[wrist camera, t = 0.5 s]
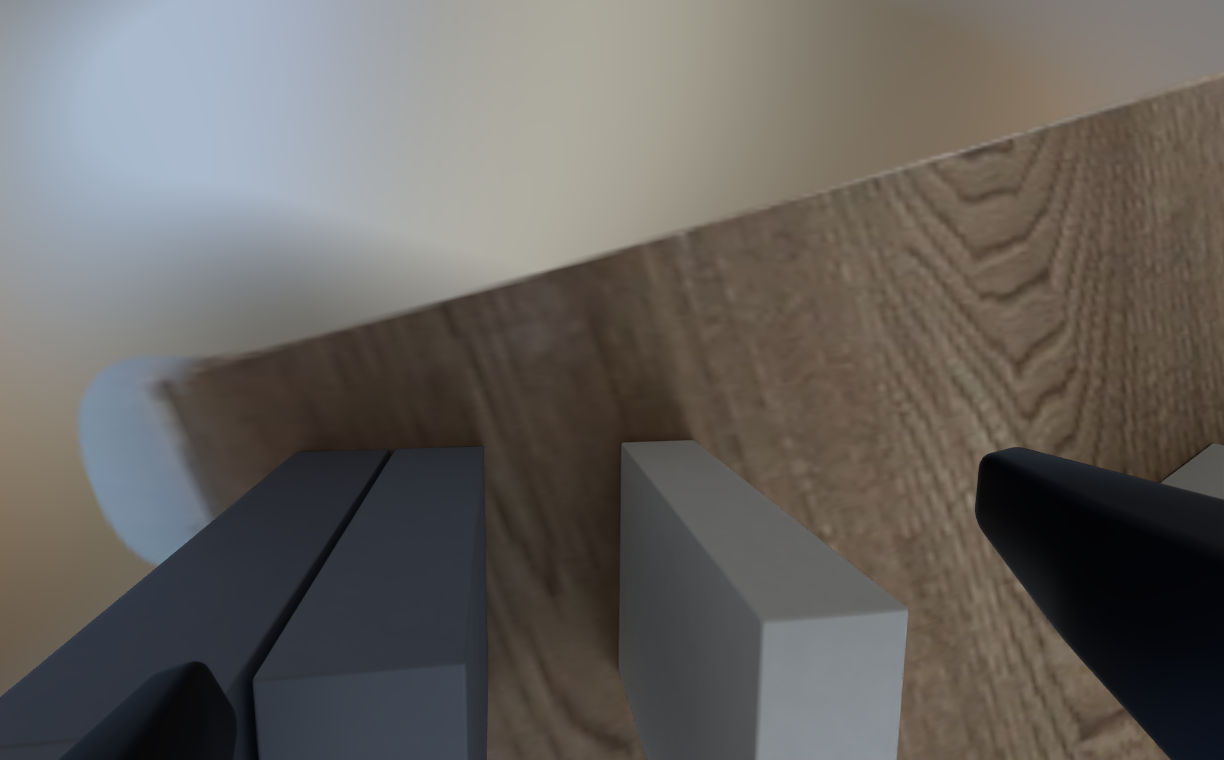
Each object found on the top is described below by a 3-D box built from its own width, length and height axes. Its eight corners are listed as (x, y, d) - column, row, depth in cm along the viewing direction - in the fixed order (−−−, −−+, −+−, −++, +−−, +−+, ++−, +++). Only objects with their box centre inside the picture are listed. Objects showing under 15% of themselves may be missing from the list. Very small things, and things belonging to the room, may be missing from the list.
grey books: (488, 682, 24) (476, 1238, 10) (310, 698, 23) (19, 1344, 9) (483, 445, 23) (463, 701, 9) (295, 451, 22) (-71, 754, 8)
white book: (688, 664, 26) (876, 1036, 13) (617, 671, 25) (742, 1064, 12) (694, 439, 24) (910, 607, 12) (620, 442, 24) (761, 620, 11)
